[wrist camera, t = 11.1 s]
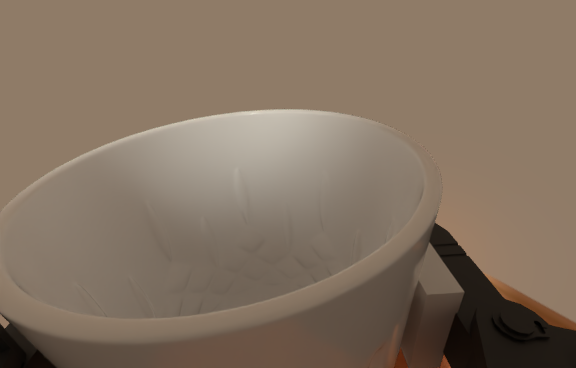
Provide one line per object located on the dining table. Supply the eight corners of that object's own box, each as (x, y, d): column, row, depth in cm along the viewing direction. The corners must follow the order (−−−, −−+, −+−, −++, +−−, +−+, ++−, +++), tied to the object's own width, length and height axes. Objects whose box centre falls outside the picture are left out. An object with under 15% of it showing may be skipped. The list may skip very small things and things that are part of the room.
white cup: (249, 288, 15) (210, 104, 11) (402, 346, 12) (447, 114, 7) (117, 465, 9) (-112, 222, 5) (351, 683, 6) (420, 637, 1)
